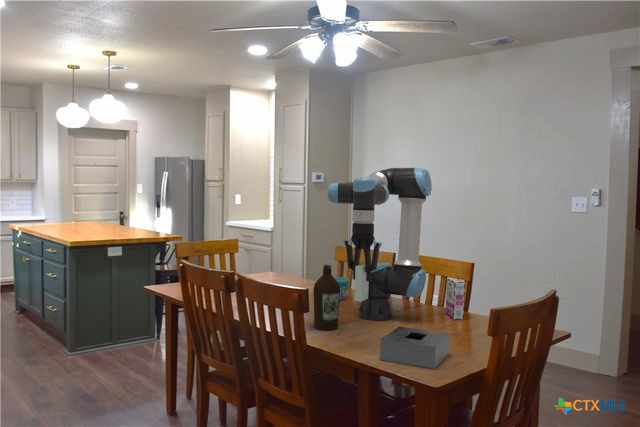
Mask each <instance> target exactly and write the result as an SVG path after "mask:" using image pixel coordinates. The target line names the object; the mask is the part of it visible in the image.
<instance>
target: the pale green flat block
mask: <svg viewBox="0 0 640 427" xmlns="http://www.w3.org/2000/svg"><path fill="white" fill-rule="evenodd" d="M365 271H366V266H365V263H364V264H363V263H362V264H359V265H358V266H355V280H354V301H355V302H360V303H361V302H362V301H364V300H366V299H368V290H366V291H363V288H364V272H365Z"/></svg>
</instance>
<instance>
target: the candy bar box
mask: <svg viewBox="0 0 640 427" xmlns="http://www.w3.org/2000/svg"><path fill="white" fill-rule="evenodd" d="M445 290H446V292H445V294H446V295H445V315H446V316H448V317H449V318H451V319H452V320H455V321H457V320H459V321H460V320H462V321H463V320H464V319H465V314H464V313H465V296H466V282H465V281H463V280H461V279H459V278H458V277H447V278H446V288H445Z"/></svg>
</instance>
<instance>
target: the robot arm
mask: <svg viewBox="0 0 640 427" xmlns="http://www.w3.org/2000/svg"><path fill="white" fill-rule="evenodd" d="M432 188H433V186H432V178H431V175H430V173H429V171H428V170H427V169H426V168H422V167H391V168H385V169H381V170H379V171H374V172H372V173H370V174H369V175H368V176H364V177H355V178H354V180H350V181H346V182H336V183H335V182H334V183H331V184H330V185H329V186H328V189H327V199H328V200H329V202H331V204H338V205H339V204H349V205H350V204H352V221H353V223H352V225H351V226H352V228H351V230H352V231H351V233H352V235H351V237H350V239H347V240H345V241H344V245H345V247H346V248H345V249H346V259H347V260H346V261H347V268H348V269H351V270H352V280H354V281H355V266H358V265H360V261H361V260H360V259H361V254H362V253H361V252H362V250H363V253H364V254H363V255H364V264H365V266H366V271H365V272H364V288H363V291H366V290H368V299H366V300H364V301H362V302H360V305H359V306H358V307H359V308H358V311H357V316H358V317H359V318H360V319H364V320H367V321H368V320H370V321H386V320H387V321H388V320H391V319H393V318H394V311H393V307H392V304H391V301H390V295H393V296H401V297H407V298H411V297H412V298H417V297H420V296H421V294H423V291H424V289H425V286H426V282H427V272H426V270H424V269H422V268H423V264H422V263H420V261H419V259H420V258H419V257H420V256H419V255H420V241H421V240H420V239H421V227H422V226H421V224H422V211H423V210H422V208H423V204H424V203H425V202H426V201H427V197H429V196H430V195H431V194H432ZM390 195H392V196H398V197H397V198H398V200H399V202H400V204H401V205H400V206H401V207H400V208H401V209H400V218H399V219H400V223H399V237H398V253H397V260H395V262H394V263H393V266H392V265H391V263H390V262H378V261H379V253H380V248H381V247H382V242H379V241H377V240H376V239H375V235H374V234H375V224H374V223H373V222H375V205H376V206H380V205H383V204H385V203H387V201H388V200H389V199H390V198H389V197H390ZM353 245H354V249H353ZM372 246H373V250H372V258H371V247H372ZM353 251H354V252H353Z"/></svg>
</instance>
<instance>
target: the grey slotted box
mask: <svg viewBox="0 0 640 427" xmlns="http://www.w3.org/2000/svg"><path fill="white" fill-rule="evenodd" d="M450 336H451V334H450V333H446V332H441V331H433V330H428V329H427V330H426V329H419V328H412V327H406V326H397V327H396V328H395V329H393V330H391V331H390V332H389V333H387V334H386V335H384V336H383V337H381V338H380V354H379V355H380V357H379V358H380V361H385V362H389V363H390V362H391V363H396V364H403V365H409V366H413V367H419V368H423V369H424V368H425V369H430V370H436V369H437V368H438V366H439V365H441V363H443V361H444V360H445V359H446V358H447V356H449V354H450Z"/></svg>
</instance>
